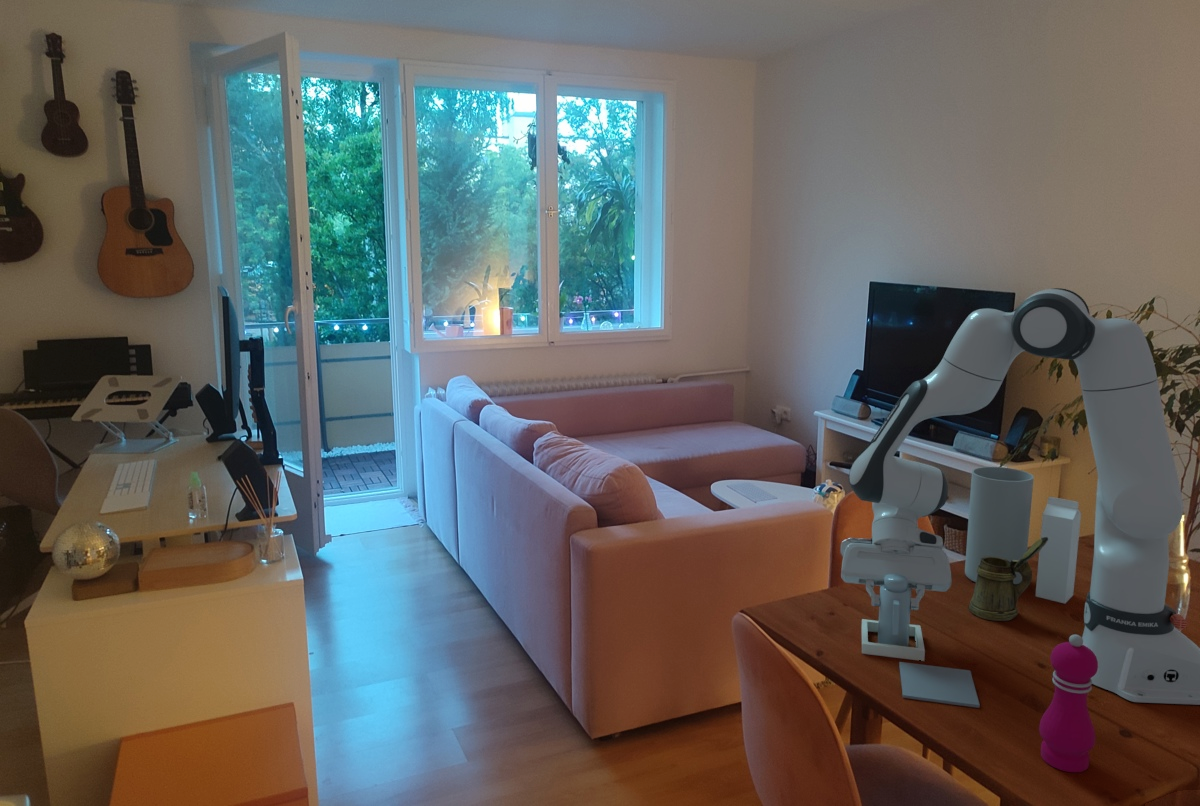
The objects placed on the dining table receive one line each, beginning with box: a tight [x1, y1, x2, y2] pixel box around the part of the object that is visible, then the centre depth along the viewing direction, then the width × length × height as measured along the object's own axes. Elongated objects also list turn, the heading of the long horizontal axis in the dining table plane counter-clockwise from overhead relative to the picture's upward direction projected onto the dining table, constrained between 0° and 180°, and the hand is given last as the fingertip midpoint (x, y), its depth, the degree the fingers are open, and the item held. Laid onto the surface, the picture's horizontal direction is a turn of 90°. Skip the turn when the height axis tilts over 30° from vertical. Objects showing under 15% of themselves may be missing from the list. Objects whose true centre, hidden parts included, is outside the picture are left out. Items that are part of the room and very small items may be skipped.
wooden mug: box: [968, 537, 1048, 622], centre depth 171 cm, size 9×14×18 cm, turn 60°
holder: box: [861, 618, 926, 662], centre depth 160 cm, size 11×11×2 cm
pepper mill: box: [1038, 634, 1098, 773], centre depth 122 cm, size 7×7×20 cm
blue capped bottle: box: [877, 574, 912, 647], centre depth 158 cm, size 6×8×13 cm
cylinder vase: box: [964, 466, 1035, 584], centre depth 189 cm, size 12×12×25 cm
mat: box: [898, 661, 981, 709], centre depth 145 cm, size 12×12×1 cm
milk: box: [1035, 496, 1082, 605], centre depth 179 cm, size 6×6×22 cm
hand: (894, 607), depth 158 cm, fingers closed on blue capped bottle, 6 cm apart
